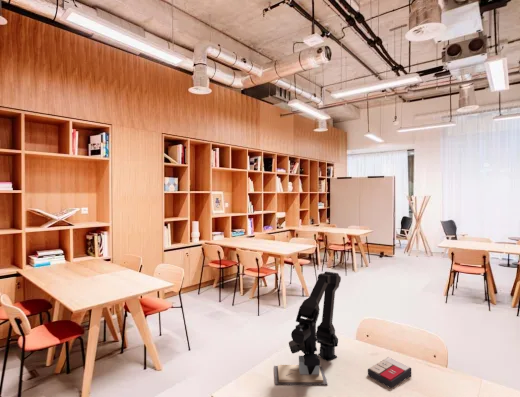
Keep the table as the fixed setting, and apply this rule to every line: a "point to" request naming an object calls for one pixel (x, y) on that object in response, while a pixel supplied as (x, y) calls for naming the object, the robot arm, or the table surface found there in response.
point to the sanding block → (306, 368)
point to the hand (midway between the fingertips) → (309, 370)
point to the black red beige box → (389, 372)
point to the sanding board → (297, 376)
